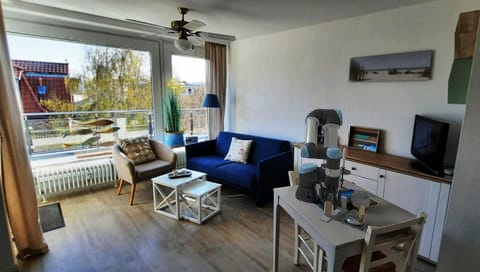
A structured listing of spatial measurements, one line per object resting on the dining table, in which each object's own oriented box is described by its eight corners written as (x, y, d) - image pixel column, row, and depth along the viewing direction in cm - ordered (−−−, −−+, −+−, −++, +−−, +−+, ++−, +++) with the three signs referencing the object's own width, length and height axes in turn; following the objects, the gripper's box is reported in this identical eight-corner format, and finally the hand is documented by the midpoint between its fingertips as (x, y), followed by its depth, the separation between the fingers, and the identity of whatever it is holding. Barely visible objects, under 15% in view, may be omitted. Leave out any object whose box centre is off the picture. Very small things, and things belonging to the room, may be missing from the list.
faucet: (340, 217, 142) (342, 200, 140) (354, 214, 146) (356, 197, 144) (355, 227, 133) (357, 208, 131) (369, 223, 136) (371, 205, 134)
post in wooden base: (330, 217, 143) (331, 202, 142) (324, 214, 146) (325, 200, 144) (343, 207, 156) (344, 193, 154) (337, 205, 158) (339, 191, 156)
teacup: (371, 211, 152) (372, 199, 151) (352, 210, 154) (353, 197, 153) (365, 201, 165) (366, 190, 164) (347, 200, 168) (348, 188, 166)
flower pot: (317, 201, 166) (318, 188, 164) (327, 199, 169) (328, 186, 167) (326, 207, 158) (327, 193, 156) (337, 204, 161) (338, 191, 159)
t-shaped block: (330, 224, 138) (331, 208, 136) (315, 218, 144) (316, 203, 143) (347, 210, 153) (348, 196, 152) (333, 205, 160) (334, 192, 158)
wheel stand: (348, 215, 147) (348, 213, 147) (368, 222, 140) (368, 220, 140) (340, 222, 140) (340, 220, 140) (360, 230, 132) (361, 228, 132)
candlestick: (352, 191, 181) (357, 144, 174) (339, 193, 178) (343, 145, 172) (342, 186, 191) (346, 141, 185) (330, 187, 189) (333, 142, 182)
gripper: (315, 172, 144) (312, 210, 149) (344, 180, 133) (340, 221, 137) (321, 170, 150) (319, 206, 154) (349, 177, 138) (346, 216, 143)
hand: (329, 213), depth 146 cm, fingers closed on post in wooden base, 4 cm apart
